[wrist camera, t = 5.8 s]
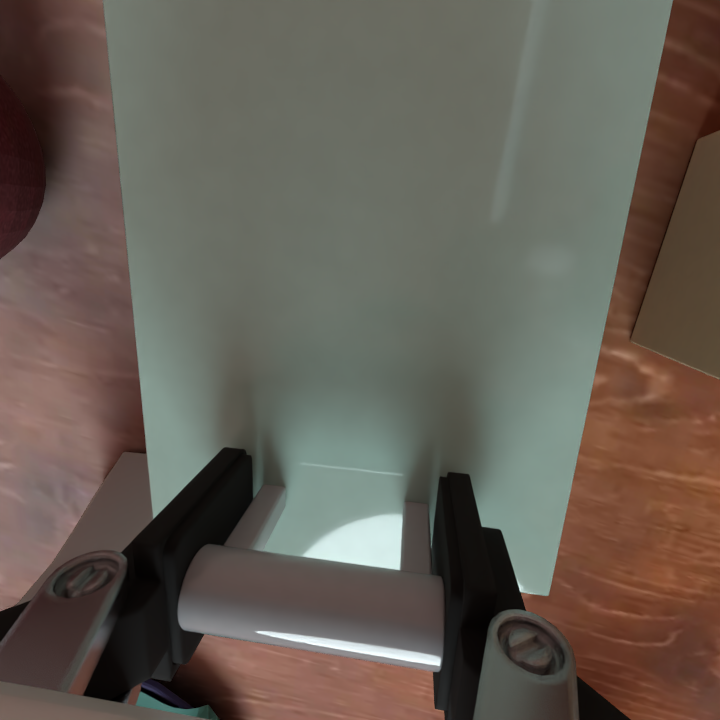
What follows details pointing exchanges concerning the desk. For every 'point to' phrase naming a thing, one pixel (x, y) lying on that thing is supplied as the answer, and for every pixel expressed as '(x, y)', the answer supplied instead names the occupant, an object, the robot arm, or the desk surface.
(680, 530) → the desk surface
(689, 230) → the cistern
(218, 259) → the pale green box lid
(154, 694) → the cutlery set
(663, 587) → the desk surface
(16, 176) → the decorative ball
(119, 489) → the flask
